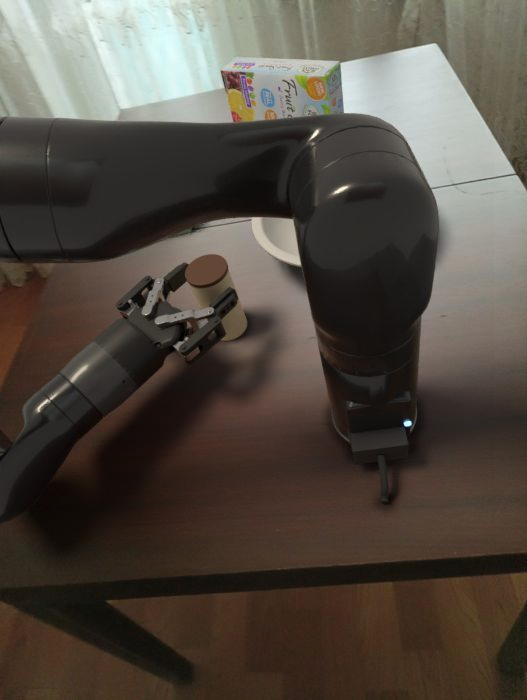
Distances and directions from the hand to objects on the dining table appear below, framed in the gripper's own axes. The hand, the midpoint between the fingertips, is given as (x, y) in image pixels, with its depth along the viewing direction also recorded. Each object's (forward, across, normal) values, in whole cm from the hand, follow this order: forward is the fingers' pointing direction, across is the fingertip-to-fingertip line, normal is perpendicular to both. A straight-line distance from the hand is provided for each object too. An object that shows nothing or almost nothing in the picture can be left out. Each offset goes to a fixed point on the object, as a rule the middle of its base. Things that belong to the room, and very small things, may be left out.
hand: (211, 279), depth 62 cm
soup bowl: (+21, -3, +9) cm, 23 cm away
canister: (0, 0, +9) cm, 9 cm away
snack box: (+38, +21, +9) cm, 45 cm away
